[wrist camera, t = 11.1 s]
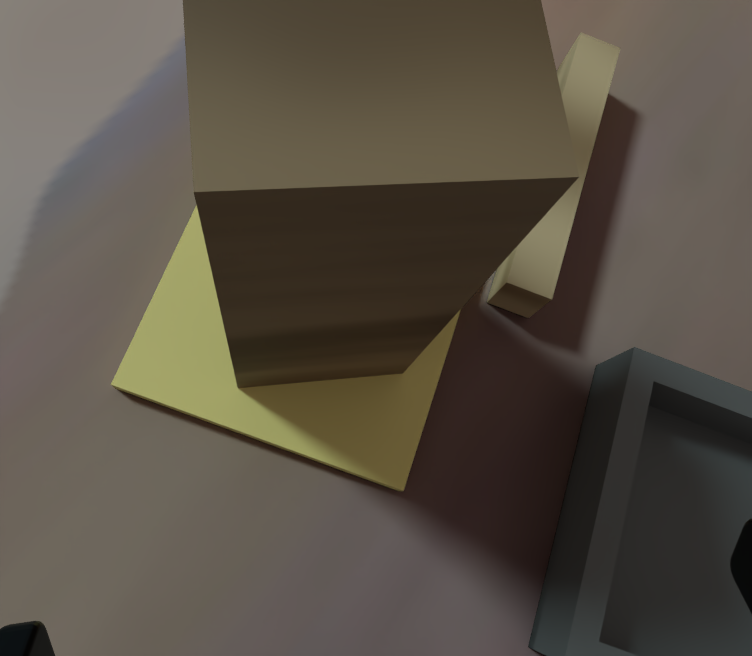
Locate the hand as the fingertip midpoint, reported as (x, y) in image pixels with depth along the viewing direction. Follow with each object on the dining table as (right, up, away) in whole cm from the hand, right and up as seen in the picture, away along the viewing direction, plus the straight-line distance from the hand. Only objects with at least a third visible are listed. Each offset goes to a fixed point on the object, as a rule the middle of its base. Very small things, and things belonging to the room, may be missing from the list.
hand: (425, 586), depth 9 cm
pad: (-3, +4, +13) cm, 14 cm away
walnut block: (-3, +4, +13) cm, 13 cm away
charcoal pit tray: (+9, -4, +13) cm, 16 cm away
